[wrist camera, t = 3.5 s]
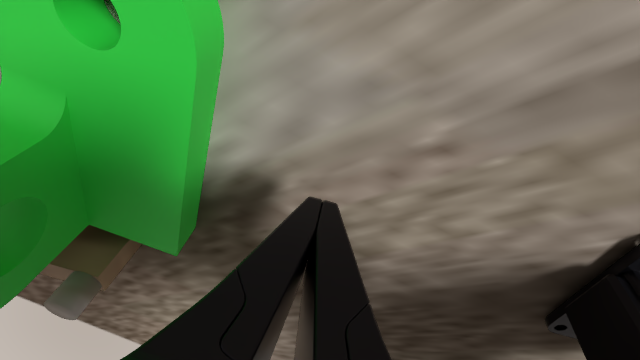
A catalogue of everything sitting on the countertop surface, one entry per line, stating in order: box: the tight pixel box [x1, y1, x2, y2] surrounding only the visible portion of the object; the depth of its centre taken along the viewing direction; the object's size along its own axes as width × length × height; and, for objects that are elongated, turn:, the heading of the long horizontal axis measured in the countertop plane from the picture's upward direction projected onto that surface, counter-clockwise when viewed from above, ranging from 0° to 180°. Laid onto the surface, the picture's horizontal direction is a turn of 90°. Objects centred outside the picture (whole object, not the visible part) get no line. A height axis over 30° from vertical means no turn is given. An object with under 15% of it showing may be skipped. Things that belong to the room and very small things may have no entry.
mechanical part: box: [0, 0, 224, 308], centre depth 9 cm, size 12×6×8 cm, turn 160°
